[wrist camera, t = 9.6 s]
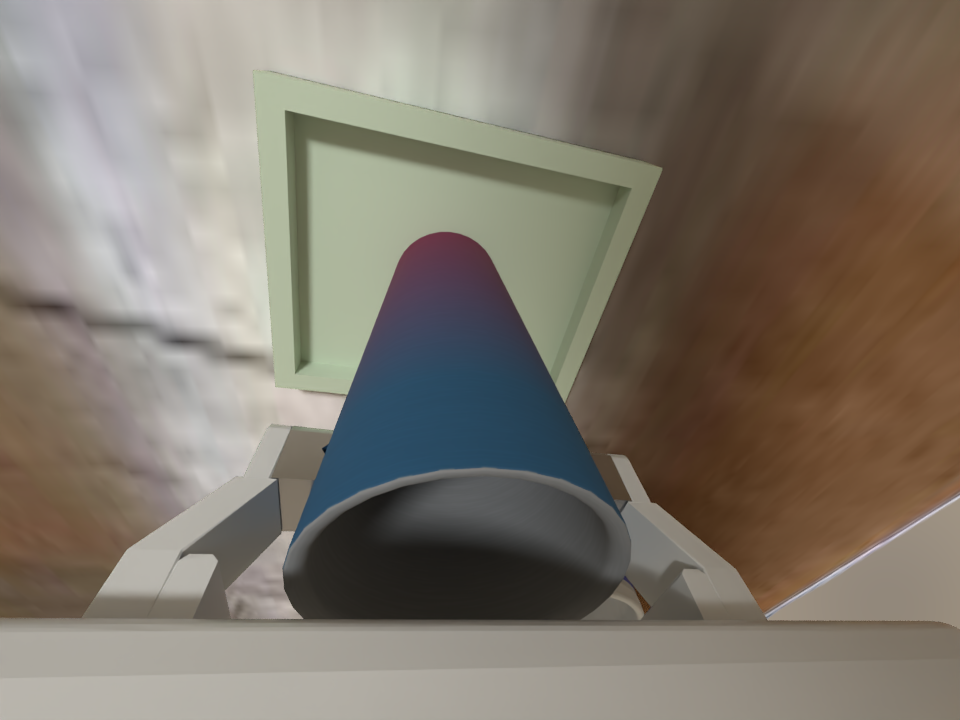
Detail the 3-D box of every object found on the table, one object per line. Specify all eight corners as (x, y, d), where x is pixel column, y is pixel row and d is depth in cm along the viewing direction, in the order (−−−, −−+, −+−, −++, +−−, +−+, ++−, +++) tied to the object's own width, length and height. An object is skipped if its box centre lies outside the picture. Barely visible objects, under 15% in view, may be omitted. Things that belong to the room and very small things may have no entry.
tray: (269, 71, 16) (252, 70, 14) (644, 161, 19) (662, 168, 17) (285, 367, 23) (275, 387, 22) (552, 397, 26) (559, 416, 25)
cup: (488, 351, 23) (551, 662, 11) (365, 323, 21) (273, 654, 9) (534, 235, 20) (702, 498, 7) (391, 192, 18) (295, 437, 6)
